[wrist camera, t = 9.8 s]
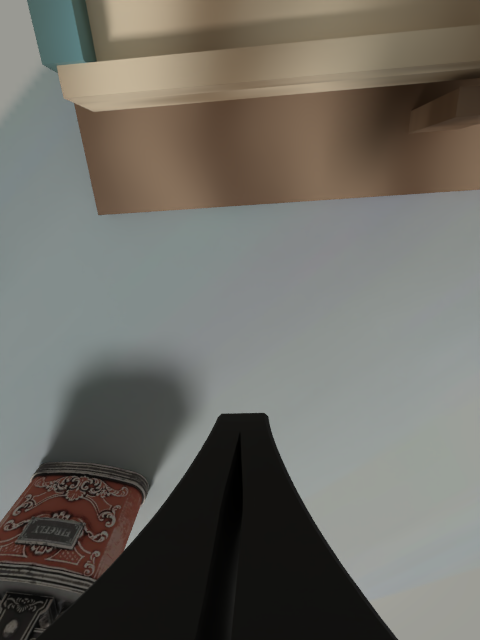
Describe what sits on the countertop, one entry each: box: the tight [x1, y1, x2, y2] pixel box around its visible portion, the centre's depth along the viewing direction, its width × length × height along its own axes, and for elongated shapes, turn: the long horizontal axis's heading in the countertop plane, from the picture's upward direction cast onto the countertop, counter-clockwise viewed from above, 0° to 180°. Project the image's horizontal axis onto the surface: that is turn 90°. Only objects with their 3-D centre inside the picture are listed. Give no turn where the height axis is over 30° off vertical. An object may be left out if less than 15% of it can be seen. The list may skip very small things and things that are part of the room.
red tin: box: [0, 462, 149, 640], centre depth 19 cm, size 8×3×10 cm, turn 85°
